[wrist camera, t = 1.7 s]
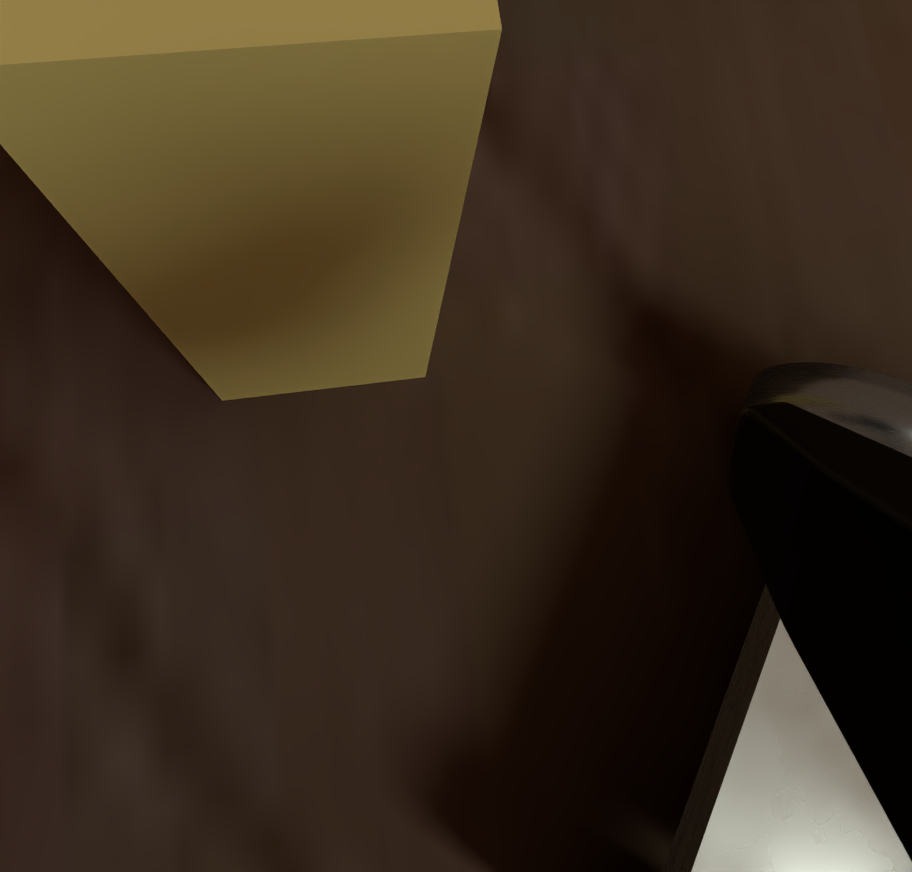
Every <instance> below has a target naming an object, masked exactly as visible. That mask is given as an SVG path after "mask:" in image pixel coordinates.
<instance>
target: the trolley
mask: <svg viewBox="0 0 912 872" xmlns="http://www.w3.org/2000/svg"><path fill="white" fill-rule="evenodd" d="M774 402H788V403H790V404H793V405H795V406H797V407H800V408H802V409H804V410H806V411H809V412H811V413H813V414H815V415H818V416H820V417H822V418H824V419H827V420H829V421H831V422H834V423H836V424H838V425H840V426H843V427H845V428H847V429H849V430H852V431H854V432H856V433H858V434H861V435H863V436H865V437H868V438H870V439H872V440H874V441H877V442H879V443H881V444H883V445H886V446H888V447H890V448H892V449H895V450H897V451H899V452H901V453H904V454H906V455H908V456H911V457H912V383H910V382H907V381H904V380H902V379H899V378H895V377H892V376H889V375H885V374H882V373H878V372H873V371H869V370H865V369H860V368H855V367H850V366H843V365H835V364H825V363H789V364H782V365H777V366H773V367H770V368H767V369H765V370H763V371H761V372H760V373H759V374H757V375H756V377H755V378H754V379H753V382H752V385H751V387H750V390H749V392H748V395H747V398H746V400H745V403H744V406H743V408H742V411H743V410H744V409H745V408H746V407H748V406H751V405H758V404H766V403H774ZM742 411H741V412H742ZM740 414H741V413H740ZM737 422H738V421H737ZM736 427H737V424H736ZM736 427H735V429H734V432H733V435H732V440H733V442H734V437H735V432H736ZM570 872H581V871H570ZM662 872H912V861H911V860H910V858H909V856H908V854H907V852H906V850H905V849H904V847H903V845H902V843H901V841H900V839H899V838H898V836H897V834H896V832H895V830H894V828H893V827H892V825H891V823H890V821H889V819H888V817H887V816H886V814H885V812H884V810H883V808H882V806H881V805H880V803H879V801H878V799H877V797H876V795H875V794H874V792H873V790H872V788H871V786H870V784H869V783H868V781H867V779H866V777H865V775H864V773H863V772H862V770H861V768H860V766H859V764H858V762H857V761H856V759H855V757H854V755H853V753H852V751H851V750H850V748H849V746H848V744H847V742H846V740H845V739H844V737H843V735H842V733H841V731H840V729H839V728H838V726H837V724H836V722H835V720H834V718H833V716H832V715H831V713H830V711H829V709H828V707H827V705H826V704H825V702H824V700H823V698H822V696H821V694H820V693H819V691H818V689H817V687H816V685H815V683H814V682H813V680H812V678H811V676H810V674H809V672H808V671H807V669H806V667H805V665H804V663H803V661H802V660H801V658H800V656H799V654H798V652H797V650H796V649H795V647H794V645H793V643H792V641H791V639H790V637H789V635H788V633H787V631H786V629H785V627H784V625H783V623H782V621H781V619H780V616H779V614H778V612H777V610H776V607H775V605H774V603H773V600H772V598H771V595H770V593H769V590H768V588H767V586H766V583H765V586H764V589H763V592H762V594H761V597H760V600H759V603H758V606H757V608H756V611H755V614H754V617H753V619H752V622H751V625H750V628H749V631H748V633H747V636H746V639H745V642H744V645H743V647H742V650H741V653H740V656H739V658H738V661H737V664H736V667H735V670H734V672H733V675H732V678H731V681H730V684H729V686H728V689H727V692H726V695H725V698H724V700H723V703H722V706H721V709H720V711H719V714H718V717H717V720H716V723H715V725H714V728H713V731H712V734H711V737H710V739H709V742H708V745H707V748H706V750H705V753H704V756H703V759H702V762H701V764H700V767H699V770H698V773H697V776H696V778H695V781H694V784H693V787H692V790H691V792H690V795H689V798H688V801H687V803H686V806H685V809H684V812H683V815H682V817H681V820H680V823H679V826H678V829H677V831H676V834H675V837H674V840H673V842H672V845H671V848H670V851H669V854H668V856H667V859H666V862H665V865H664V868H663V870H662Z"/></svg>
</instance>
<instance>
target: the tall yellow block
mask: <svg viewBox="0 0 912 872" xmlns="http://www.w3.org/2000/svg"><path fill="white" fill-rule="evenodd" d="M501 31H502V27H501V21H500V15H499V9H498V3H497V0H0V144H1V146H2V147H3V148H4V149H5V150H6V151H7V153H8V154H9V155H10V156H11V157H12V158H13V159H14V161H15V162H16V163H17V164H18V165H19V166H20V168H21V169H22V170H23V171H24V172H25V173H26V175H27V176H28V177H29V178H30V179H31V180H32V181H33V183H34V184H35V185H36V186H37V187H38V188H39V190H40V191H41V192H42V193H43V194H44V195H45V196H46V198H47V199H48V200H49V201H50V202H51V203H52V205H53V206H54V207H55V208H56V209H57V210H58V212H59V213H60V214H61V215H62V216H63V217H64V218H65V220H66V221H67V222H68V223H69V224H70V225H71V227H72V228H73V229H74V230H75V231H76V232H77V233H78V235H79V236H80V237H81V238H82V239H83V240H84V242H85V243H86V244H87V245H88V246H89V247H90V248H91V250H92V251H93V252H94V253H95V254H96V255H97V257H98V258H99V259H100V260H101V261H102V262H103V264H104V265H105V266H106V267H107V268H108V269H109V270H110V272H111V273H112V274H113V275H114V276H115V277H116V279H117V280H118V281H119V282H120V283H121V284H122V285H123V287H124V288H125V289H126V290H127V291H128V292H129V294H130V295H131V296H132V297H133V298H134V299H135V301H136V302H137V303H138V304H139V305H140V306H141V307H142V309H143V310H144V311H145V312H146V313H147V314H148V316H149V317H150V318H151V319H152V320H153V321H154V322H155V324H156V325H157V326H158V327H159V328H160V329H161V331H162V332H163V333H164V334H165V335H166V336H167V337H168V339H169V340H170V341H171V342H172V343H173V344H174V346H175V347H176V348H177V349H178V350H179V351H180V353H181V354H182V355H183V356H184V357H185V358H186V359H187V361H188V362H189V363H190V364H191V365H192V366H193V368H194V369H195V370H196V371H197V372H198V373H199V374H200V376H201V377H202V378H203V379H204V380H205V381H206V383H207V384H208V385H209V386H210V387H211V388H212V390H213V391H214V392H215V393H216V394H217V395H218V396H219V398H220V399H221V400H222V401H224V400H233V399H241V398H250V397H258V396H267V395H275V394H284V393H293V392H301V391H310V390H318V389H327V388H335V387H344V386H353V385H361V384H370V383H378V382H387V381H395V380H404V379H413V378H421V377H425V375H426V371H427V366H428V362H429V357H430V353H431V348H432V344H433V339H434V334H435V330H436V325H437V321H438V316H439V312H440V307H441V303H442V298H443V294H444V289H445V285H446V280H447V276H448V271H449V267H450V262H451V257H452V253H453V248H454V244H455V239H456V235H457V230H458V226H459V221H460V217H461V212H462V208H463V203H464V199H465V194H466V190H467V185H468V180H469V176H470V171H471V167H472V162H473V158H474V153H475V149H476V144H477V140H478V135H479V131H480V126H481V122H482V117H483V112H484V108H485V103H486V99H487V94H488V90H489V85H490V81H491V76H492V72H493V67H494V63H495V58H496V54H497V49H498V45H499V40H500V35H501Z"/></svg>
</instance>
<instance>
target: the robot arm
mask: <svg viewBox="0 0 912 872" xmlns="http://www.w3.org/2000/svg"><path fill="white" fill-rule="evenodd" d="M727 481H728V489H729V493H730V496H731V499H732V502H733V504H734V506H735V509H736V511H737V514H738V516H739V519H740V521H741V524H742V526H743V529H744V531H745V534H746V536H747V539H748V541H749V544H750V546H751V548H752V551H753V553H754V556H755V558H756V561H757V563H758V566H759V568H760V571H761V573H762V576H763V578H764V581H765V583H766V586H767V588H768V590H769V593H770V595H771V598H772V600H773V603H774V605H775V607H776V610H777V612H778V614H779V616H780V619H781V621H782V623H783V625H784V627H785V629H786V631H787V633H788V635H789V637H790V639H791V641H792V643H793V645H794V647H795V649H796V650H797V652H798V654H799V656H800V658H801V660H802V661H803V663H804V665H805V667H806V669H807V671H808V672H809V674H810V676H811V678H812V680H813V682H814V683H815V685H816V687H817V689H818V691H819V693H820V694H821V696H822V698H823V700H824V702H825V704H826V705H827V707H828V709H829V711H830V713H831V715H832V716H833V718H834V720H835V722H836V724H837V726H838V728H839V729H840V731H841V733H842V735H843V737H844V739H845V740H846V742H847V744H848V746H849V748H850V750H851V751H852V753H853V755H854V757H855V759H856V761H857V762H858V764H859V766H860V768H861V770H862V772H863V773H864V775H865V777H866V779H867V781H868V783H869V784H870V786H871V788H872V790H873V792H874V794H875V795H876V797H877V799H878V801H879V803H880V805H881V806H882V808H883V810H884V812H885V814H886V816H887V817H888V819H889V821H890V823H891V825H892V827H893V828H894V830H895V832H896V834H897V836H898V838H899V839H900V841H901V843H902V845H903V847H904V849H905V850H906V852H907V854H908V856H909V858H910V860H911V861H912V457H911V456H908V455H906V454H904V453H901V452H899V451H897V450H895V449H892V448H890V447H888V446H886V445H883V444H881V443H879V442H877V441H874V440H872V439H870V438H868V437H865V436H863V435H861V434H858V433H856V432H854V431H852V430H849V429H847V428H845V427H843V426H840V425H838V424H836V423H834V422H831V421H829V420H827V419H824V418H822V417H820V416H818V415H815V414H813V413H811V412H809V411H806V410H804V409H802V408H800V407H797V406H795V405H793V404H790V403H788V402H774V403H766V404H758V405H751V406H748V407H746V408H745V409H744V410H743V411H742V412H741V414H740V416H739V418H738V422H737V427H736V432H735V437H734V442H733V447H732V452H731V457H730V463H729V468H728V476H727Z"/></svg>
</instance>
